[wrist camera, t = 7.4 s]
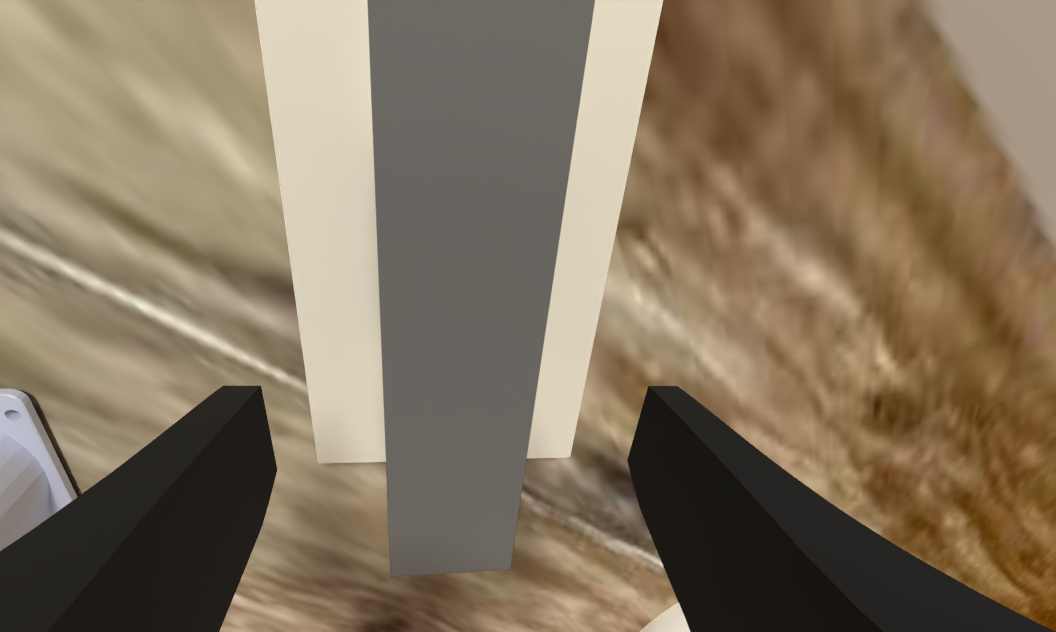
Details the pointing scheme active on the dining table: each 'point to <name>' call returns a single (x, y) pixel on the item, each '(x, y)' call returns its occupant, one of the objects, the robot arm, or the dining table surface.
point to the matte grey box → (467, 256)
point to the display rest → (350, 212)
